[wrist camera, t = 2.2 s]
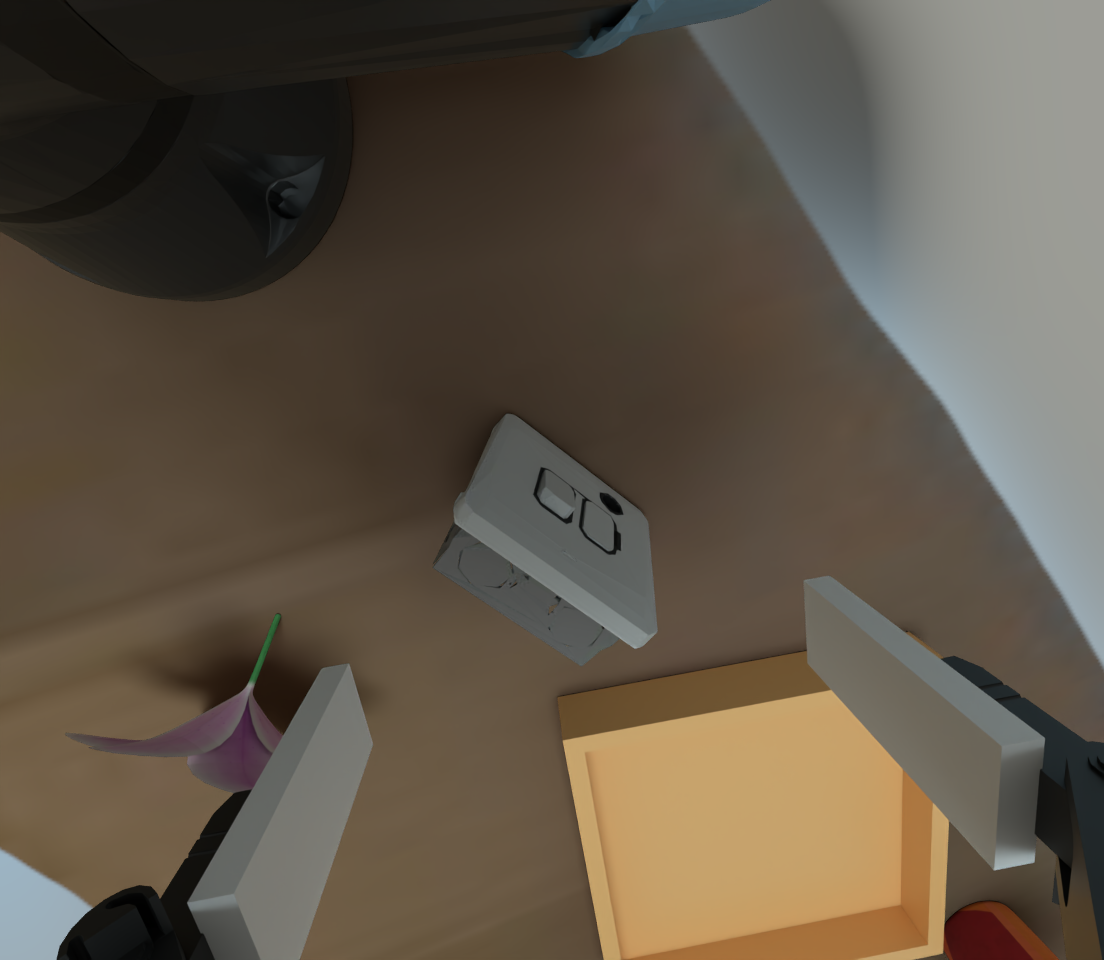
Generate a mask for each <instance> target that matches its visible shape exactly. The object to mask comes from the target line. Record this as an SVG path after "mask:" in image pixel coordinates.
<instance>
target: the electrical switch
mask: <svg viewBox="0 0 1104 960" xmlns="http://www.w3.org/2000/svg"><path fill="white" fill-rule="evenodd" d="M453 512H454V522H453V524H452V526H451V528H450V530H449V532H448V534H447V536H446V538H445V540H444V543H443V545H442V547H441V549H440V551H439V553H438V555H437V557H436V559H435V561H434V563H435V562H436V561H437V560H438V558H439V557H440V556H441V555H442V554H443V553H444V552H445V551H446V552H445V553H444V554H443V555H442V556H441V558H440V559H439V560H438V561H437V562H436V564H435V565H434V566H433V568H434V569H435V570H437V571H438V572H440V573H441V574H443V575H444V576H446V577H447V578H449V579H450V580H452V581H453V582H455V583H456V584H458V585H459V586H461V587H462V588H464V589H465V590H467V591H468V592H470V593H471V594H473V595H474V596H476V597H477V598H479V599H480V600H482V601H484V602H485V603H487V604H488V605H490V606H491V607H493V608H494V609H496V610H497V611H499V612H500V613H502V614H503V615H505V616H506V617H508V618H509V619H511V620H512V621H514V622H515V623H517V624H518V625H520V626H521V627H523V628H524V629H526V630H527V631H529V632H530V633H532V634H533V635H535V636H536V637H538V638H539V639H541V640H542V641H544V642H545V643H547V644H548V645H550V646H551V647H553V648H554V649H556V650H557V651H559V652H560V653H562V654H563V655H565V656H567V657H568V658H570V659H571V660H573V661H574V662H576V663H577V664H579V665H580V666H583V665H584V664H585V663H586V662H587V661H589V660H590V659H591V658H592V657H593V656H595V655H596V654H597V653H598V652H599V651H601V650H603V649H605V648H607V647H610V646H612V645H613V644H614V643H615V642H616V641H617V640H619V639H622V640H623V641H624V642H626V643H627V644H629V645H630V646H632V647H633V648H635V649H636V648H639V647H642V646H643V645H644V644H646V643H647V642H648V641H649V640H650V639H651V638H652V637H653V636H654V635H655V634H656V633H657V620H656V608H655V596H654V584H653V573H652V561H651V549H650V537H649V525H648V521H647V519H646V518H645V516H644V515H643V513H642V512H641V511H640V510H639V509H638V508H636V507H635V506H634V505H632V504H631V503H630V502H628V501H627V500H626V499H625V498H623V497H622V496H621V495H619V494H618V493H617V492H615V491H614V490H613V489H611V488H610V487H609V486H608V485H606V484H605V483H604V482H602V481H601V480H600V479H598V478H597V477H596V476H594V475H593V474H592V473H591V472H589V471H588V470H587V469H585V468H584V467H583V466H581V465H580V464H579V463H577V462H576V461H575V460H574V459H572V458H571V457H570V456H568V455H567V454H566V453H564V452H563V451H562V450H560V449H559V448H558V447H557V446H555V445H554V444H553V443H551V442H550V441H549V440H547V439H546V438H545V437H543V436H542V435H541V434H540V433H538V432H537V431H536V430H534V429H533V428H532V427H530V426H529V425H528V424H526V423H525V422H524V421H523V420H521V419H520V418H518V417H517V416H515V415H513V414H506V415H505V416H504V417H503V418H502V419H501V420H500V421H499V422H498V423H497V424H496V425H495V427H494V428H493V430H492V433H491V436H490V438H489V440H488V442H487V444H486V447H485V449H484V451H483V454H482V456H481V458H480V460H479V463H478V465H477V467H476V469H475V472H474V474H473V476H472V478H471V481H470V483H469V485H468V487H467V489H466V491H465V492H464V493H462V492H461V493H460V494H459V496H458V498H457V499H456V501H455V503H454V508H453ZM480 541H481V542H482V543H479V544H476V543H478V542H480ZM474 544H475V545H474ZM459 557H460V559H459ZM458 561H459V565H458ZM510 562H511V563H512V566H513V569H512V570H511V565H510ZM434 563H433V564H434ZM524 575H526V576H524ZM527 576H528V577H527ZM468 580H469V581H470V582H471V583H472V584H470V582H469V581H468ZM515 581H517V583H516V584H515V585H513V584H514V582H515ZM504 582H505V583H504ZM502 583H504V585H503V586H499V585H501V584H502ZM512 585H513V586H512ZM511 586H512V587H511ZM555 596H556V598H555ZM555 604H558V605H557V606H556V607H555V609H554V610H553V611H552V612H551V613H550V614H549V606H552V605H555ZM550 630H551V631H550ZM566 645H568V646H569V647H567V646H566Z"/></svg>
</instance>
